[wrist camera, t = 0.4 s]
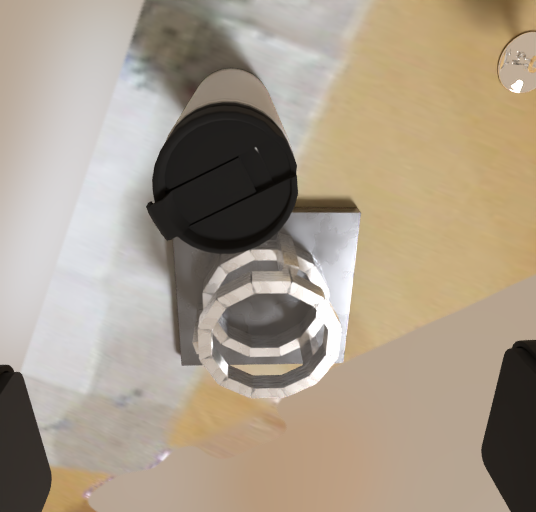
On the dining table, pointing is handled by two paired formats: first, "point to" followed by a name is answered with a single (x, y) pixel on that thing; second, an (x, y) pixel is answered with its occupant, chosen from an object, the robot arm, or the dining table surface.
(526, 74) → the wineglass
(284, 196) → the travel mug
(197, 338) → the collar stand
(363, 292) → the dining table surface
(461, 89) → the dining table surface
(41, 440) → the robot arm
